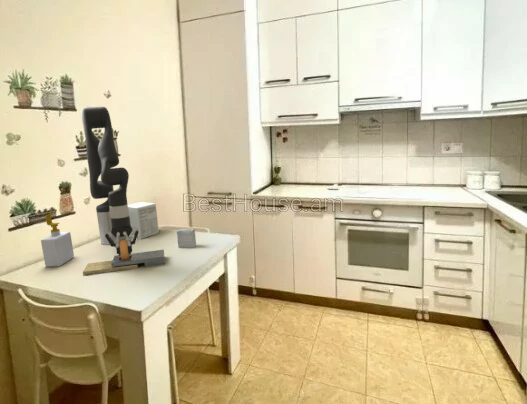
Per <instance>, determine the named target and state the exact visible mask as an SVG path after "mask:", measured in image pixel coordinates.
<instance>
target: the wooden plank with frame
mask: <svg viewBox="0 0 527 404" xmlns="http://www.w3.org/2000/svg"><path fill="white" fill-rule="evenodd" d="M165 259H166V258H165V250H164V249H157V250H149V251H141V252H132V253H131V254H130V259H127V260H121V256H119V254H115V255H113V259H112V260H107V261H106V260H104V261H97V262H89V263H87V264H86V266H85V267H84V269H83V270H82V275H83V276H89V275H94V274H95V275H97V274H102V273H104V274H105V273H111V272H119V271H127V270H133V269H138V268H139V264H144V267H145V268H147V267H157V266H162V265H165Z"/></svg>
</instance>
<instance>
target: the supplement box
mask: <svg viewBox="0 0 527 404" xmlns="http://www.w3.org/2000/svg"><path fill="white" fill-rule="evenodd" d="M128 208H129V215H130V223H131V227H132V229H134V230H139V232H138V236H137V239H139V240H140V239H145V238H147V237H150V236H154V235H157V234H159V233H160V231H159V222H158V214H157V213H158V212H157V211H158V210H157V204H156V203H154V202H145V201H143V202H142V201H141V202H135V203H132V204H128ZM129 237H130V238H132V239H134V235H133V232H131V234H130V235H129Z"/></svg>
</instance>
